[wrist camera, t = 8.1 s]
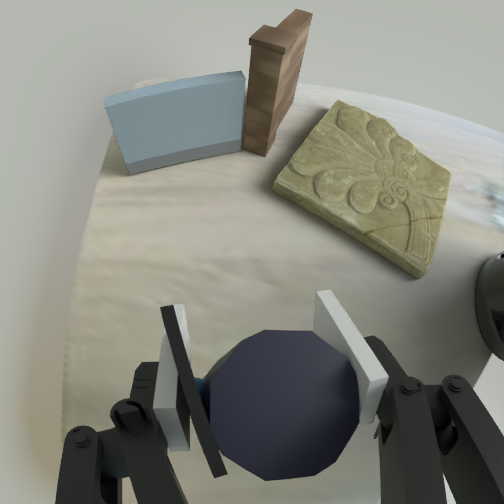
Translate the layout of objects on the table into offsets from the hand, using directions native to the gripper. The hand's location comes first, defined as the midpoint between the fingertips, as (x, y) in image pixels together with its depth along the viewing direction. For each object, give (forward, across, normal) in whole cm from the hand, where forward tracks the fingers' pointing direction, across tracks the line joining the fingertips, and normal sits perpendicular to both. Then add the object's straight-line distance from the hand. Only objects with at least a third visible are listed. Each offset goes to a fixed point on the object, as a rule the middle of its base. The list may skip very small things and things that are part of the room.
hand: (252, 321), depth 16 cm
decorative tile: (+23, +18, +2) cm, 30 cm away
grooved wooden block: (+29, +7, +9) cm, 32 cm away
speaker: (0, -1, -5) cm, 5 cm away
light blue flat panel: (+26, -5, +6) cm, 27 cm away
